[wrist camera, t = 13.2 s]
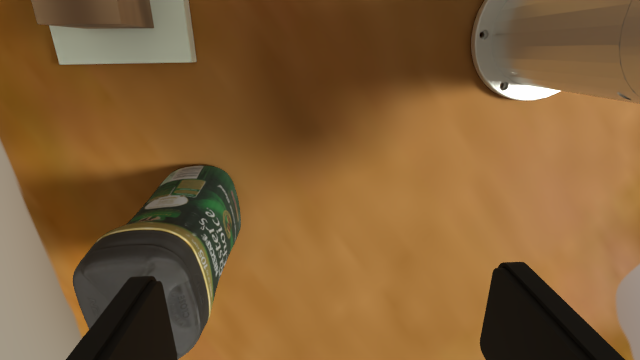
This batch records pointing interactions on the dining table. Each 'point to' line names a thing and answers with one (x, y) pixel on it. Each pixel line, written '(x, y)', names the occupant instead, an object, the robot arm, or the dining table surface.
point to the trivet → (131, 39)
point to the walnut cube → (94, 13)
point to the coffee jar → (168, 250)
